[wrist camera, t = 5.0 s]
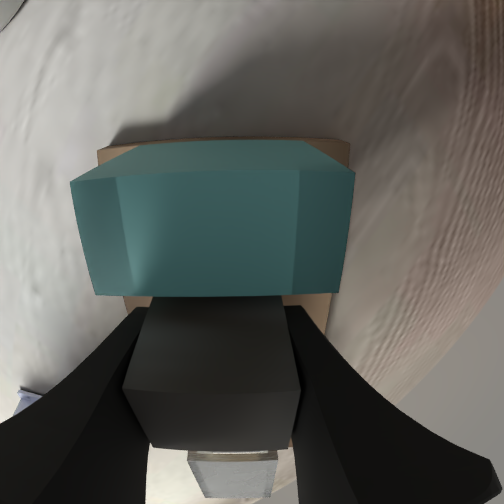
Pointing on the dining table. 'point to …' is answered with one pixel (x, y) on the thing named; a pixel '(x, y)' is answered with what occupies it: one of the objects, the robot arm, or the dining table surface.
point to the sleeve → (234, 473)
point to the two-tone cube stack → (214, 374)
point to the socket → (215, 219)
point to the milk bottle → (8, 11)
